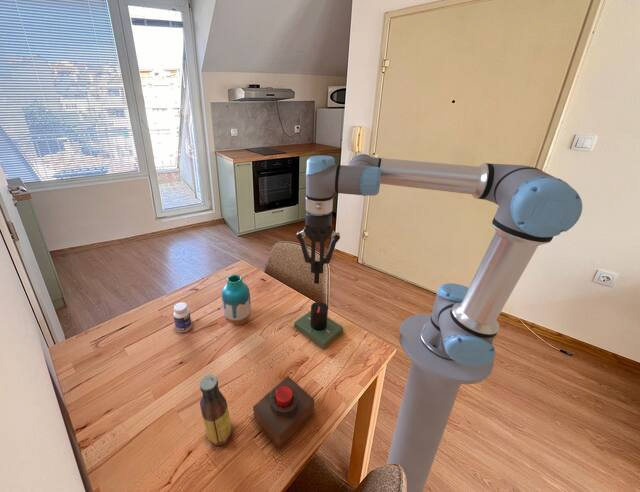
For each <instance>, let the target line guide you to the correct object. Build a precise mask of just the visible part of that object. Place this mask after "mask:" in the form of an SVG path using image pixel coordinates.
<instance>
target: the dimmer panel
mask: <svg viewBox="0 0 640 492" xmlns="http://www.w3.org/2000/svg"><path fill="white" fill-rule="evenodd" d="M310 319H311V310H309V311H308V312H306V313H305V314H304V315H303V316H301V317H300V318H298V319H297V320H296V321H294V325H293V327H294V329H296V330H297V331H298V332H300V333H301V334H302V335H304V336H305V337H306V338H308V340H310V341H312V342H313V343H315V344H316V345H317V346H319V347H320V348H321V349H323V350H324V349H325V348H327V347H328V346H329V345H330V344H332V343H333V342H334V341H335V340H336V339H337V338H338V337H339V336H341V334H343V331H344V327H343V326H342V325H341V324H339V323H338V322H336V321H334V320H333V319H331V318H329V317H328V316H327V327H326V328H325V329H324V330H322V331H317V330H314V329H313V328H312V327H311V325H310Z"/></svg>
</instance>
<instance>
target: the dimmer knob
mask: <svg viewBox="0 0 640 492" xmlns="http://www.w3.org/2000/svg"><path fill="white" fill-rule="evenodd" d="M310 311H311V319H310V325H311V327H312V328H313V329H314V330H317V331H322V330H324V329H325V328H326V327H327V317H328V316H329V315H328V314H329V306H328V305H327V304H326V303H325V302H322V301H316V302H312V303H311V305H310Z"/></svg>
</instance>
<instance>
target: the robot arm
mask: <svg viewBox="0 0 640 492" xmlns="http://www.w3.org/2000/svg"><path fill="white" fill-rule="evenodd" d="M305 170H306V172H305V211H306V212H305V225H304V227H303V229H302V230H301V231H300V230H298V231H297V232H296V238H297V240H298V241H299V243H300V247H301V251H302V255H303V259H304V262H305V263H307V264H310V273H311V274H314V277H313V279H314V280H313V282H314V283H313V284H318V285H319V284H320V274H324V265H325V264H328V265H329V264H330V262H331V259H332V256H333V253H334V251H335V248H336V245H337V243H338V242H339V241H340V239H341V234H340V232H336V231H334V228H333V225H332V223H333V204H334V194H343V195H352V196H353V195H355V196H363V197H367V196H373V197H374V196H375V197H376V196H378V194H379V193H380V186H381V185H386V186H387V185H388V186H395V187H404V188H411V189H413V188H414V189H423V190H430V191H439V192H449V193H456V194H466V195H471V197H473V198H474V199H477V200H483V201H488V202H491V203H493V204H496V205H497V206H498V208H497V210H496V212H495V215H494V217H493V219H492V221H491V225H492V227H493V228H494V231H495V232H494V234H493V235H492V238H491V240H490V241H489V244H488V246H487V248H486V251H485V253H484V254H483V256H482V259H481V261H480V263H479V265H478V267H477V269H476V271H475V273H474V275H473V278H472V279H471V282H470V284H469V286H466V285H464V284H463V285H462V284H459V283H452V282H451V283H450V282H448V283H447V282H446V283H443V284H441V285H440V286H439V287H438V289H437V291H436V294H435V300H434V304H433V307H432V311H431V314H432V315H431V319H430V320H429V321H428V322H427V323H426V324H425V325H424V327H423V328H422V331H421V334H420V338H421V341H422V343H423V345H424V346H425V347H426V348H427V349H428V350H429V351H430V352H431V353H433V354H434V355H436V356H438V357H440V358H443V359H446V360H450V361H456V362H458V363H460V364H463V365H468V366H478V365H485V364H487V363H489V362H491V361H492V360H493V359H494V360H495V357H496V348H495V346H494V344H493V341H494V339H495V337H496V336H497V334H498V333H499V331H500V324H499V321H498V318H499V316H500V314H501V313H502V310H503V309H504V307H505V305H506V303H507V302H508V300H509V298H510V297H511V294H512V293H513V291H514V290H515V287H516V286H517V284H518V283H519V280H520V279H521V277H522V275H523V274H524V272H525V270H526V268H527V267H528V265H529V263H530V261H531V260H532V258H533V256H534V254H535V253H536V251H537V249H538V247H539V246H542V245H546V244H549V243H551V242H552V241H553V238H554V237H557V236H560V235H561V233H563V232H565V233H566V232H567V231H569V230H571V229H572V228H573V227H574V226H575V225H576V224H577V223H578V221H579V220H580V218H581V215H582V212H583V200H582V198H581V196H580V195H579V193H578V192H577V190H576V189H575V188H573V187H572V186H571V185H570V184H569V183H568V182H566V181H565V180H563V179H561V178H558V177H555V176H553V175H551V174H549V173H548V172H545V171H543V170H542V169H539V168H537V167H534V166H530V165H523V164H508V163H507V164H505V163H503V164H502V163H488V162H482V163H480V164H479V165H465V164H455V163H445V162H444V163H443V162H433V161H431V162H430V161H421V160H409V159H399V158H397V159H396V158H388V157H387V158H385V157H376V156H375V157H374V156H371V155H369V154H367V153H360V154H356V155H355V156H354V157H353V158H352V159H351V160H350V161H349V164H348V165H347V164H346V165H344V164H343V165H341V164H336V160H335V157H333V156H331V155H313V156H310V157H309V158H308V159H307V160H306V169H305ZM305 237H307V238H308V239H309V240H310V241H311V243H310V245H311V247H310V254H309V250H308V245H307V242H306V238H305ZM330 237H331V240H330V243H329V246H328V249H327V252H326V256H325V242H326V241H327V240H328V239H329V238H330ZM318 242H319V260H316V247H317V245H316V243H318Z"/></svg>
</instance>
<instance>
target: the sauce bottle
mask: <svg viewBox="0 0 640 492" xmlns="http://www.w3.org/2000/svg"><path fill="white" fill-rule="evenodd" d="M199 389H200V391H201V393H202V397H201V398H200V400H199V406H200V411H201V416H202V417H201V418H202V421H203V424H204V429H205V433H206V437H207V439H208V440H209V442H210V444H212V445H214V446H222V445H224V444H225V443H226V442H228V440H230V437H231V435H232V422H231V417H230V413H229V407H228V403H227V399H226V397H225V395H224V394H223V393H222V392H221V391H220V389H219V381H218V377H217V376H215V375H214V374H207V375H205V376H204V377H202V379H201V380H200V382H199Z"/></svg>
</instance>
